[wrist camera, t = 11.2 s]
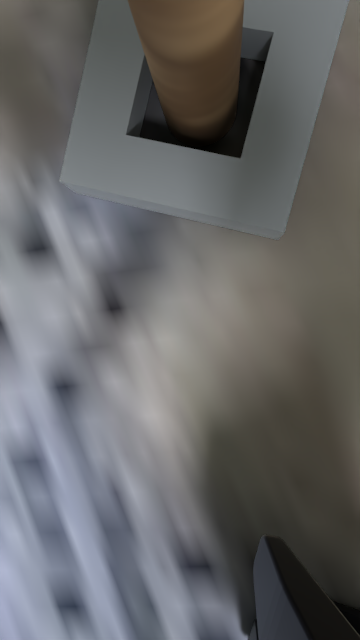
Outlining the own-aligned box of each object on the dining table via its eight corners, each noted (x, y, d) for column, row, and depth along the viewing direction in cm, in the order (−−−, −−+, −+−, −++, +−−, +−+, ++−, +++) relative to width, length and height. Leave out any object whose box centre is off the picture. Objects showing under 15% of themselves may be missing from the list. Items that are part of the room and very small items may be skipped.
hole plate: (341, 12, 17) (356, -25, 15) (277, 240, 18) (284, 232, 16) (123, -21, 19) (111, -60, 17) (75, 193, 20) (59, 181, 18)
